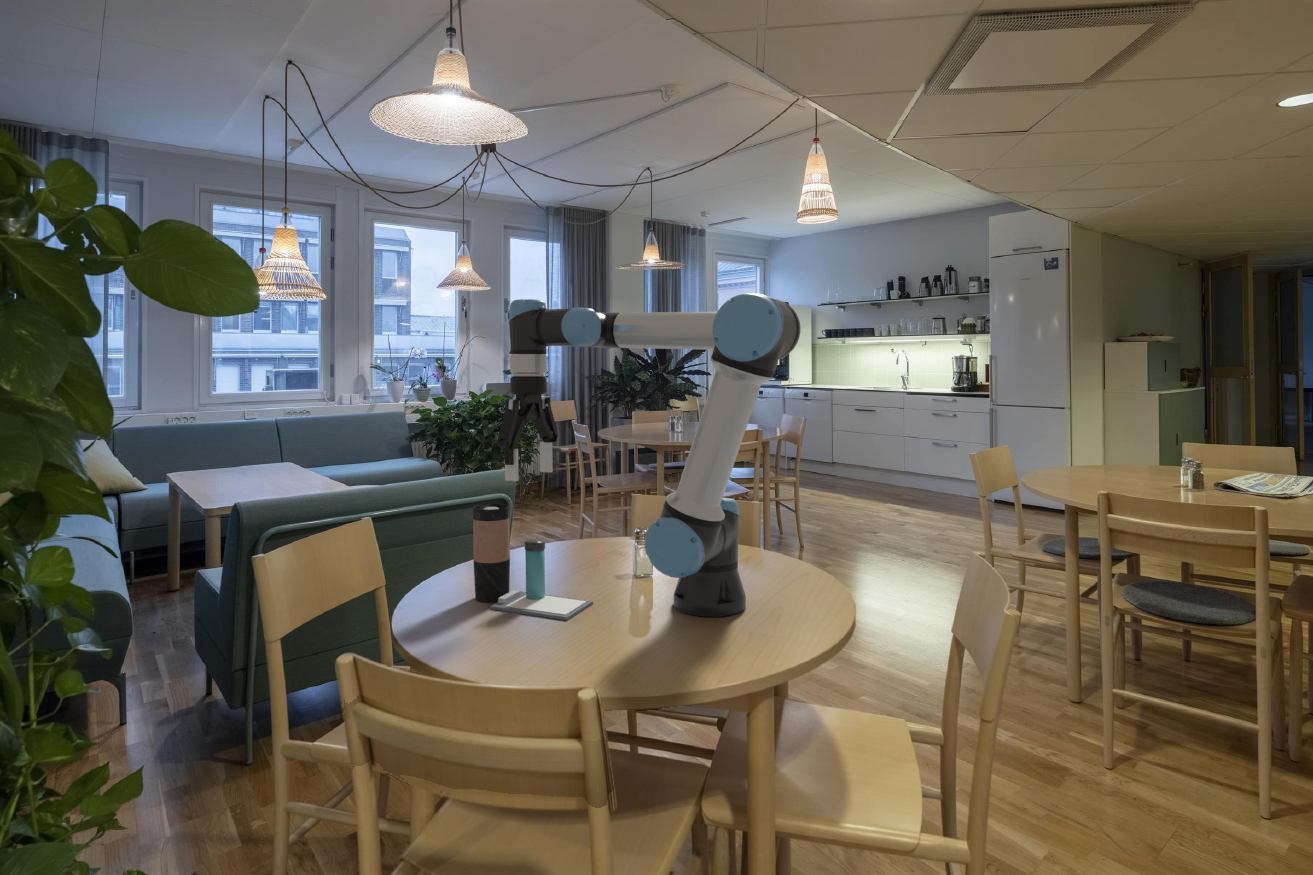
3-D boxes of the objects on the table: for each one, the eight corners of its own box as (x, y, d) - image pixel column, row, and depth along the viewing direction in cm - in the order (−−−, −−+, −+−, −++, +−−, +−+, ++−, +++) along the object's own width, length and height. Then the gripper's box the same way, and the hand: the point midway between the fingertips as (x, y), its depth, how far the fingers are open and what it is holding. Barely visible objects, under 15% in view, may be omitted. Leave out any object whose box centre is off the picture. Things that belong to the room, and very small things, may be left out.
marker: (549, 595, 158) (549, 540, 156) (536, 600, 154) (535, 544, 153) (534, 592, 160) (533, 538, 159) (521, 597, 156) (520, 542, 155)
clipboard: (592, 603, 155) (592, 596, 154) (567, 620, 144) (567, 612, 144) (519, 593, 161) (519, 586, 161) (490, 608, 151) (490, 601, 151)
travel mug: (501, 604, 154) (500, 510, 152) (467, 601, 155) (466, 508, 154) (516, 593, 161) (515, 504, 159) (483, 591, 163) (482, 502, 161)
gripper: (543, 374, 166) (544, 467, 168) (477, 375, 143) (479, 483, 145) (573, 374, 163) (573, 469, 165) (510, 375, 140) (512, 485, 142)
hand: (529, 476), depth 155 cm, fingers open, 13 cm apart
